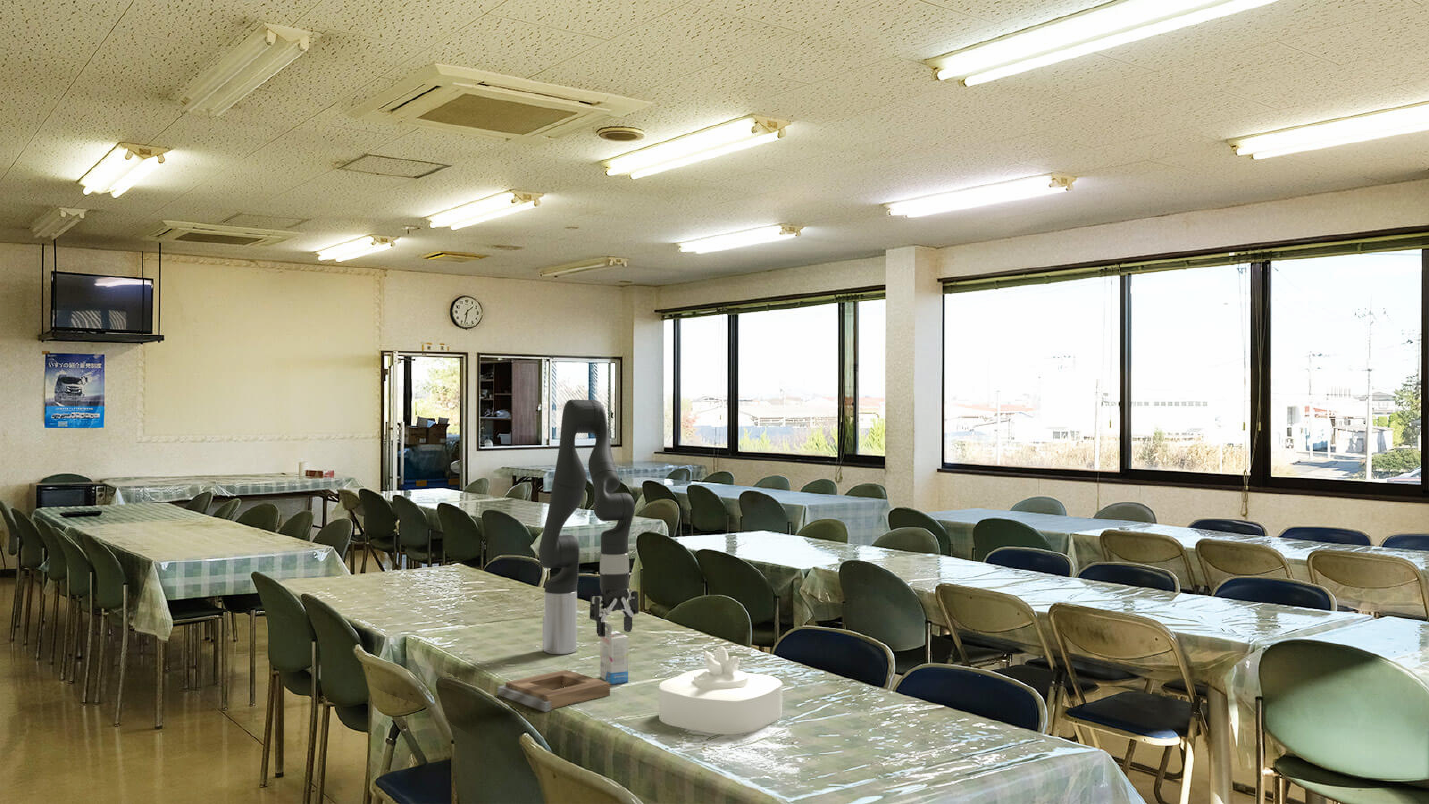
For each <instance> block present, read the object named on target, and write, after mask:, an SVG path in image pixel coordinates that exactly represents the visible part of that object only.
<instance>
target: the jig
mask: <svg viewBox="0 0 1429 804" xmlns="http://www.w3.org/2000/svg"><path fill="white" fill-rule="evenodd" d="M563 687H565V688H563ZM497 695H498V696H500V697H503V698H506V699H508V700H510V701H513V702H517V703H519V704H522V705H525V706H527V707H530V708H533V709H536V710H539V711H542V712H544V713H546V712H547V713H548V712H551V711H552V710H553V709H556V708H562V707H565V705H566V706H569V705H568V704H570V705H574V704H573V703H575V702H579V703H583V702H586V701H587V700H588V701H591V700H590V699H592V700H594V698H596V699H599V698H598V697H600V698H604V697H603V696H605V697H608V696H607V695H609V696H611V684H610V683H609V682H607V681H606V680H605V681H604V680H603V679H599V678H596V677H592V676H589V675H585V674H581V673H578V672H576V671H575V672H574V671H572V670H568V669H564V670H563V669H562V670H559V671H554V672H548V673H543V674H537V675H534V676H530V677H525V678H519V679H514V680H509V681H506V682H505V685H500V686H497ZM571 703H572V704H571ZM575 704H576V703H575Z"/></svg>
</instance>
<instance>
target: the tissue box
mask: <svg viewBox="0 0 1429 804" xmlns="http://www.w3.org/2000/svg"><path fill="white" fill-rule="evenodd" d="M703 657H704V663H705V666H706V668H703V669H702V668H700V669H695V670H694V669H693V670H689V671H686V672H683V673H681V674H680V675H677V676H675V677H673V678H669V679H665V680H663V681H661V682H660V683H659V686H658V718H659V721H661V723H663V724H666V725H668V726H670V727H676V728H682V729H687V730H693V731H697V732H703V733H709V734H714V735H741V734H748V733H752V732H755V731H759V730H760V729H763V728H765V727H767V726H768V725H771V724H772V723H774V722H776V721H777V720H780V718H781V717H782V716H783V681H781V680H780V679H779V678H777V677H775V676H772V675H768V674H764V673H763V674H762V673H749V672H745V671H742V670H739V666H740V663H741V660H740V658H739V656H735V655H733V656H731V657H730V658H729V654H728V652H727V648H725V647H724V646H723V645H719V646H718V647H717V648H715V652H714V654H712V653H711V652H709V651H708V650H705V651H704V652H703Z"/></svg>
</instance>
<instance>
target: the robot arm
mask: <svg viewBox="0 0 1429 804" xmlns="http://www.w3.org/2000/svg"><path fill="white" fill-rule="evenodd" d="M577 434H593V436H594V438H595V444H594V447H592V451H591V452H590V456H589V459H588V465H587V467H588V472H589V475H590V479H591V482H592V486H593V495H594V496H593V499H594V500H593V512H594V515H595V517H596V518H597V520H599V521H602V522H611V521H617V523H616V525H615V527H613V528H610V529H607V530H604V531H602V532H601V535H600V560H599V590H600V591H601V593H600V595H598V596H595V595H592V596H590V598H589V599H590V601H589V602H590V603H589V619H590V620H592V621H595V622H596V634H597V636H598V637H600V638H601V637H605V630H606V627H605V623H606V622H605V620H606V619H607V617H608V616H610V614H611V612H616V611H621V612H622V614H623V615H624V617H623V631H624V632H625V633H631V632H632V629H633V617H634V615H638V614H639V613H640V611H639V610H640V608H639V592H638V591H637V590H633V589H632V590H631V589H630V560H629V559H630V558H629V534H630V529H631V526H632V522H633V519H634V516H635V509H636V503H635V499H634V498H633V496H632V495H631V494H630V493H627V492H615V491H617V490H619V487H620V486H621V480H620V476H619V474H618V470H617V467H616V464H615V461H614V457H613V454H612V448H611V447H612V446H611V440H610V433H609V426H608V420H607V415H606V410H605V408H604V405H603V403H601V401H599V400H594V399H570V400H567V401H566V402H565V404H564V407H563V410H562V415H561V426H560V437H559V444H558V445H559V446H558V452H557V453H558V454H557V459H556V466H555V469H554V475H553V479H552V485H551V491H550V500H549V505H548V510H547V516H546V520H545V522H544V527H543V529H542V530H543V531H542V535H541V537H540V543H539V546H538V547H539V548H538V560H539V563H540V565H541V567H542V568H544V569H560V571H559V572H558V573H557V574H556V575H555V576H553V577H552V578H550V579H548V580H546V582H545V583H544V615H543V617H542V650H543V651H544V653H546V654H550V655H566V654H572V653H575V652H577V648H578V647H577V644H578V643H577V642H578V641H577V640H578V639H577V637H578V634H577V633H578V628H577V627H578V623H577V622H578V583H579V571H580V570H579V569H580V567H579V566H580V543H579V541H578V538H577V537H576V536H575V535H572V534H564V535H560V534H561V532H562V529H563V527H564V525H565V524H566V522H567V521H568V520H569V518H570V517H571V516H572V515H573V514H574V513H575V512H576V510H577V509H578V508H579V506H580V505H581V503H582V501H583V500H584V496H585V490H586V485H587V480H588V479H587V478H588V477H587V472H586V470H585V467H584V465H583V463H582V461H581V458H580V457H579V455H578V453H577V449H576V436H577ZM629 589H630V590H629ZM628 590H629V591H628ZM627 601H628V602H627Z"/></svg>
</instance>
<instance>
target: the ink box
mask: <svg viewBox="0 0 1429 804" xmlns="http://www.w3.org/2000/svg"><path fill="white" fill-rule="evenodd" d="M612 629H613V626H612V625H610V624H608V623H606V622H605V637H600V649H599V650H600V654H599V657H600V661H599V662H600V663H599V664H600V667H599V672H600V674H599V676H600V677H599V678H602V680H603V681H604V680H605V681H606V682H609V683H610V685H614V684H615V685H616V684H625V683H628V682H629V636H627V635H625V634H623V633H621V632H619V631H618V630H615V631H614V630H612Z"/></svg>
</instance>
